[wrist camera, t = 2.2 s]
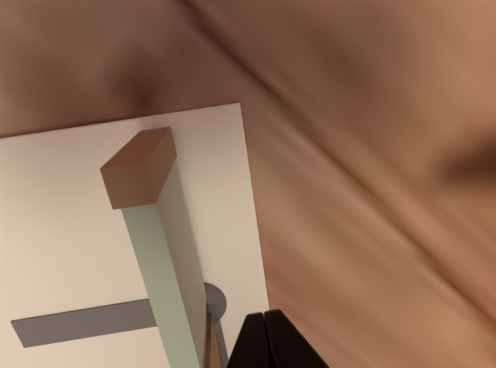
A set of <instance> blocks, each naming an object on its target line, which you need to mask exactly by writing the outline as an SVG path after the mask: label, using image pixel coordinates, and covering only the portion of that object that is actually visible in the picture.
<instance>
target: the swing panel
mask: <svg viewBox="0 0 496 368" xmlns="http://www.w3.org/2000/svg"><path fill="white" fill-rule="evenodd" d="M176 157H177V153H176V148H175V144H174V139H173V135H172V130H171V126H169V127H162V128H156V129H149V130H142V131H139V132H138V133H137V134H136V135H135V136H134V137H133V138H132V139H131V140H130V141H129V142H128V143H127V144H126V145H124V146H123V147H122V148H121V149H120V150H119V151H118V152H117V153H116V154H115V155H114V156H113V157H112V158H111V159H110V160H108V161H107V162H106V163H105V164H104V165H103V166H102V167H101V168H100V172H101V175H102V178H103V181H104V184H105V187H106V190H107V194H108V197H109V200H110V203H111V206H112V209H113V210H116V209H121V211H122V214H123V217H124V220H125V224H126V227H127V230H128V233H129V236H130V240H131V243H132V246H133V249H134V253H135V256H136V259H137V262H138V265H139V269H140V272H141V275H142V278H143V282H144V285H145V288H146V291H147V294H148V298H149V301H150V304H151V307H152V310H153V314H154V317H155V320H156V323H157V327H158V330H159V333H160V336H161V339H162V343H163V346H164V349H165V352H166V356H167V359H168V362H169V365H170V368H203V352H204V335H205V317H206V300H207V294H206V290H205V286H204V281H203V277H202V272H201V268H200V264H199V259H198V255H197V250H196V246H195V242H194V237H193V233H192V228H191V224H190V220H189V215H188V211H187V206H186V202H185V198H184V193H183V189H182V184H181V180H180V176H179V171H178V167H177V162H176Z"/></svg>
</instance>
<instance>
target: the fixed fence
mask: <svg viewBox="0 0 496 368" xmlns="http://www.w3.org/2000/svg"><path fill="white" fill-rule="evenodd" d="M207 312H208V304H207V302H206V317H205V335H204V352H203V368H224V366H223V362H222V358H221V353H220V349H219V344H218V340H217V336H216V331H215V327H214V322H213V318H212V315H207Z"/></svg>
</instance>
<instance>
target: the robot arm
mask: <svg viewBox="0 0 496 368" xmlns="http://www.w3.org/2000/svg"><path fill="white" fill-rule="evenodd" d="M226 368H329V366H328V365H327V364H326V363H325V362H324V360H323V359H322V358H321V357H320V356H319V355H318V353H317V352H316V351H315V350H314V349H313V347H312V346H311V345H310V344H309V343H308V342H307V340H306V339H305V338H304V337H303V336H302V334H301V333H300V332H299V331H298V330H297V329H296V327H295V326H294V325H293V324H292V323H291V322H290V320H289V319H288V318H287V317H286V316H285V314H284V313H283V312H282V311H281V310H280V309H274V310H268V311H265V312H264V315H263V313H262V312H256V313H250V314H247V315H246V317H245V319H244V322H243V324H242V327H241V330H240V332H239V335H238V337H237V340H236V342H235V345H234V348H233V350H232V353H231V355H230V358H229V360H228V363H227V366H226Z"/></svg>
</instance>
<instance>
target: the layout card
mask: <svg viewBox="0 0 496 368" xmlns="http://www.w3.org/2000/svg"><path fill="white" fill-rule="evenodd" d="M169 126H171V130H172V135H173V139H174V144H175V148H176V153H177V157H176V162H177V167H178V171H179V176H180V180H181V184H182V189H183V193H184V198H185V202H186V206H187V211H188V215H189V220H190V224H191V228H192V233H193V237H194V242H195V246H196V250H197V255H198V259H199V264H200V268H201V272H202V277H203V281H204V286H205V290H206V294H207V300H206V302H207V304H208V312H207V315H212V318H213V322H214V327H215V331H216V336H217V340H218V344H219V349H220V353H221V358H222V362H223V366H224V368H226V366H227V363H228V360H229V358H230V355H231V353H232V350H233V348H234V345H235V342H236V340H237V337H238V335H239V332H240V330H241V327H242V324H243V322H244V319H245V317H246V315H247V314H250V313H256V312H262V313H263V315H264V312H265V311H268V310H269V304H268V297H267V290H266V283H265V276H264V269H263V262H262V255H261V248H260V240H259V233H258V226H257V219H256V212H255V205H254V198H253V191H252V184H251V177H250V170H249V163H248V156H247V149H246V142H245V135H244V127H243V120H242V113H241V106H240V103H233V104H226V105H219V106H213V107H206V108H199V109H193V110H186V111H179V112H173V113H166V114H159V115H152V116H146V117H139V118H132V119H126V120H119V121H112V122H106V123H99V124H92V125H86V126H79V127H72V128H65V129H59V130H52V131H45V132H39V133H32V134H25V135H19V136H12V137H5V138H0V368H170V365H169V362H168V359H167V356H166V352H165V349H164V346H163V343H162V339H161V336H160V333H159V330H158V327H157V323H156V320H155V317H154V314H153V310H152V307H151V304H150V301H149V298H148V294H147V291H146V288H145V285H144V282H143V278H142V275H141V272H140V269H139V265H138V262H137V259H136V256H135V253H134V249H133V246H132V243H131V240H130V236H129V233H128V230H127V227H126V224H125V220H124V217H123V214H122V211H121V209H116V210H113V209H112V206H111V203H110V200H109V197H108V194H107V190H106V187H105V184H104V181H103V178H102V175H101V172H100V168H101V167H102V166H103V165H104V164H105V163H106V162H107V161H108V160H110V159H111V158H112V157H113V156H114V155H115V154H116V153H117V152H118V151H119V150H120V149H121V148H122V147H123V146H124V145H126V144H127V143H128V142H129V141H130V140H131V139H132V138H133V137H134V136H135V135H136V134H137V133H138V132H139V131H142V130H149V129H156V128H162V127H169Z"/></svg>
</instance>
